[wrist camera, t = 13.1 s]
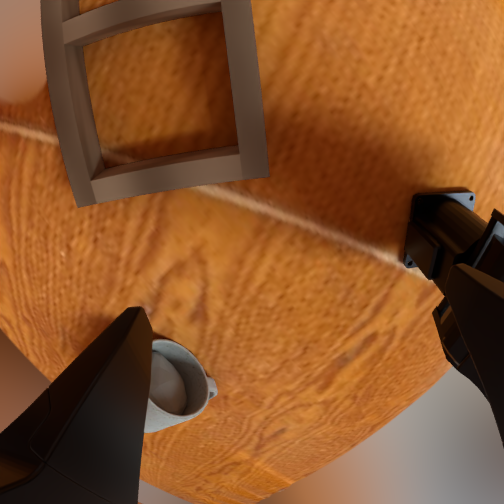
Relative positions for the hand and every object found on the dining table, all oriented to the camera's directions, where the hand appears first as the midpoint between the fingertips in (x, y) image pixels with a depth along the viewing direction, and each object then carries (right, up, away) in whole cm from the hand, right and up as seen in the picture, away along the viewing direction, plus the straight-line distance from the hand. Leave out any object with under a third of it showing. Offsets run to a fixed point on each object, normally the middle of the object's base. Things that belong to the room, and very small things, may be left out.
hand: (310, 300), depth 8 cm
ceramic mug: (-10, -10, +21) cm, 25 cm away
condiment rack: (-8, +15, +5) cm, 18 cm away
